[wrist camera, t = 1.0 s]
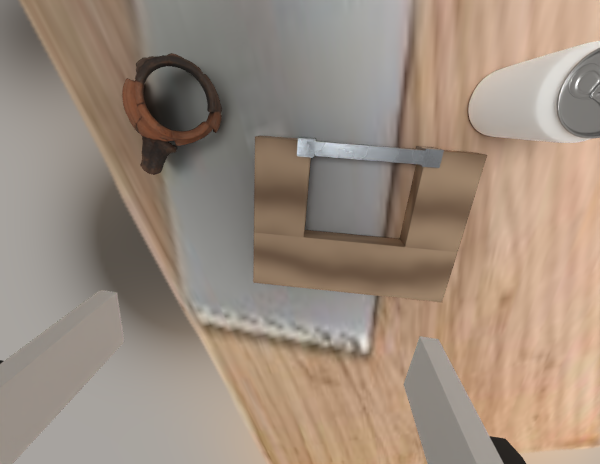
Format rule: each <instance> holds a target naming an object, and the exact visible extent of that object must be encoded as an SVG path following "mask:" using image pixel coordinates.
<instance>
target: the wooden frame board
mask: <svg viewBox="0 0 600 464" xmlns="http://www.w3.org/2000/svg"><path fill="white" fill-rule="evenodd" d="M297 143H298V139H297V138H284V137H272V136H256V137H255V191H254V279H253V283H263V284H272V285H282V286H291V287H301V288H310V289H319V290H329V291H338V292H348V293H357V294H367V295H376V296H386V297H395V298H405V299H414V300H423V301H433V302H442V301H443V297H444V294H445V291H446V288H447V284H448V281H449V278H450V275H451V271H452V268H453V265H454V262H455V258H456V255H457V252H458V249H459V245H460V242H461V239H462V236H463V232H464V229H465V226H466V223H467V219H468V216H469V213H470V210H471V206H472V203H473V200H474V197H475V193H476V190H477V187H478V183H479V180H480V177H481V174H482V170H483V167H484V164H485V161H486V157H487V155H484V154H479V153H473V152H460V151H448V150H444V152H443V156H442V160H441V164H440V168H432V167H421V166H419V165H417V164H416V168H415V172H414V177H413V182H412V186H411V191H410V195H409V200H408V204H407V209H406V213H405V218H404V223H403V227H402V232H401V236H400V239H395V238H384V237H374V236H363V235H353V234H343V233H332V232H322V231H311V230H305V222H306V210H307V198H308V186H309V174H310V162H311V157H299V156H297Z"/></svg>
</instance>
